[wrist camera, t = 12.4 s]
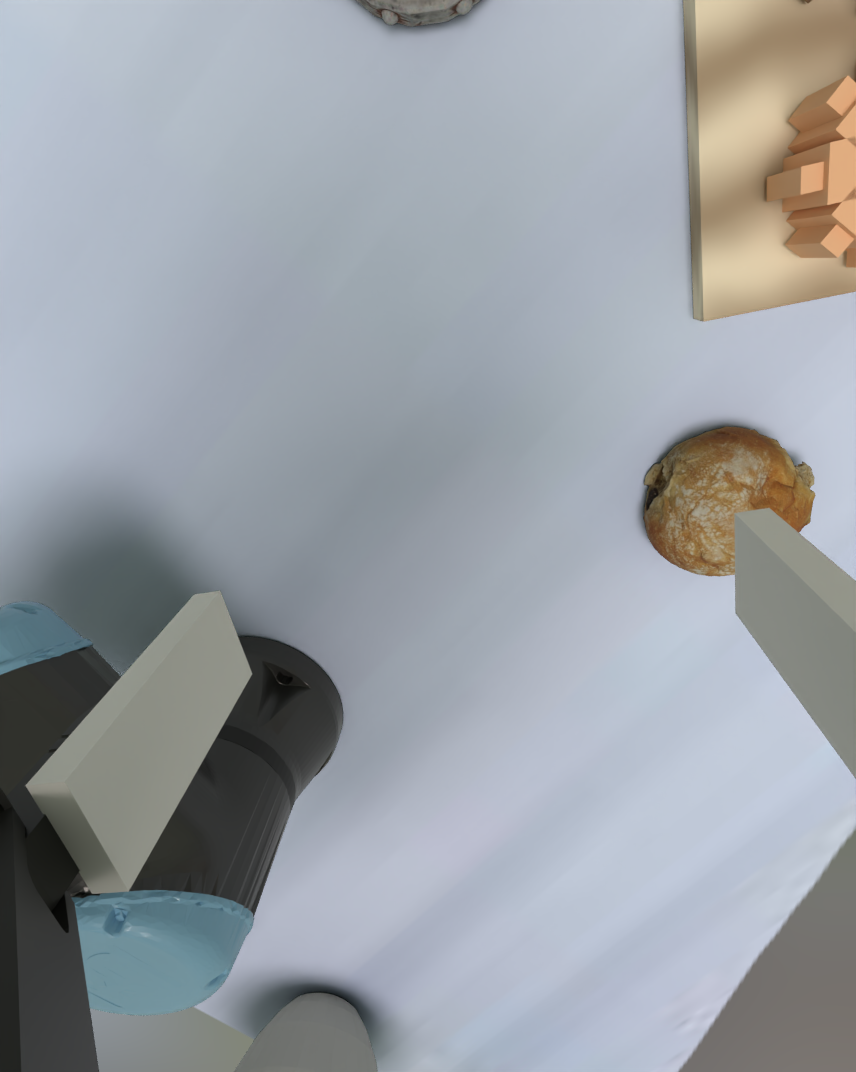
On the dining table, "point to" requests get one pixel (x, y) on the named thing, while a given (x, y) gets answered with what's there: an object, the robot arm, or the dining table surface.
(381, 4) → the mug
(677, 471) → the bread roll
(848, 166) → the gear
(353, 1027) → the vase
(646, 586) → the dining table surface
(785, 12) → the peg board
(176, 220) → the dining table surface
